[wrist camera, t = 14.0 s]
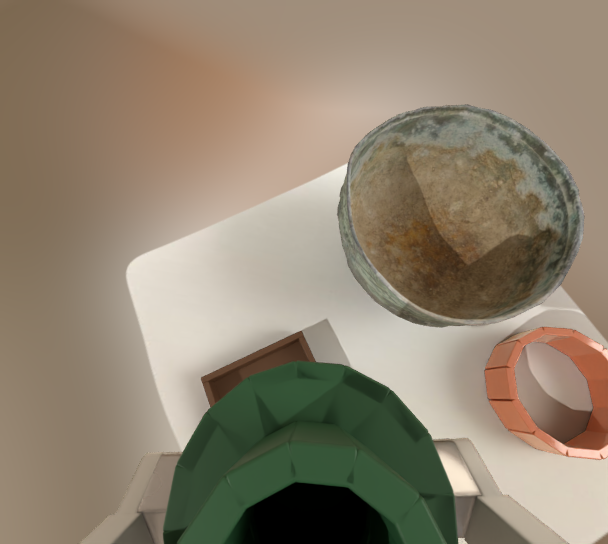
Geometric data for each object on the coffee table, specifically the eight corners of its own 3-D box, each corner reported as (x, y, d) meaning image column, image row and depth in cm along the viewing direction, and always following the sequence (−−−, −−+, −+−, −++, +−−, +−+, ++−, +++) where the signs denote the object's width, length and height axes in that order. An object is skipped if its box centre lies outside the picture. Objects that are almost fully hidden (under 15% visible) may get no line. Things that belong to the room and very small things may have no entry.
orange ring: (612, 456, 31) (653, 465, 27) (492, 445, 32) (517, 451, 28) (584, 339, 35) (617, 332, 32) (479, 330, 36) (499, 323, 32)
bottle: (369, 527, 15) (705, 1227, 2) (237, 513, 15) (-96, 1078, 3) (371, 384, 17) (543, 358, 5) (255, 374, 18) (125, 323, 5)
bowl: (377, 375, 34) (425, 361, 20) (304, 231, 41) (302, 146, 27) (524, 303, 37) (657, 247, 23) (434, 179, 43) (495, 77, 29)
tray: (367, 476, 31) (372, 483, 28) (261, 535, 29) (256, 549, 27) (301, 335, 36) (301, 330, 33) (208, 379, 34) (200, 377, 32)
